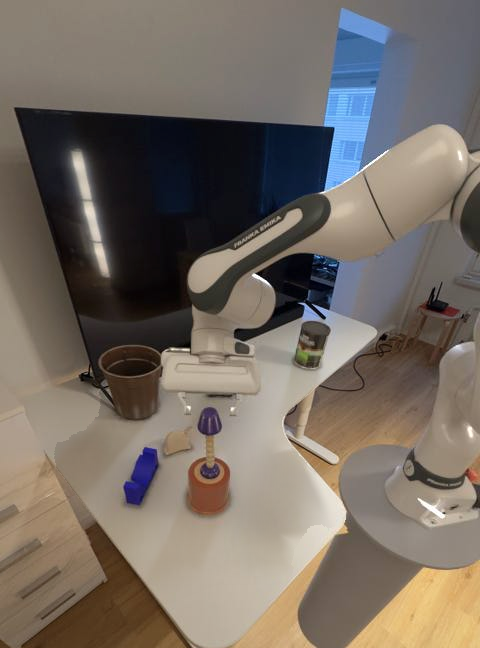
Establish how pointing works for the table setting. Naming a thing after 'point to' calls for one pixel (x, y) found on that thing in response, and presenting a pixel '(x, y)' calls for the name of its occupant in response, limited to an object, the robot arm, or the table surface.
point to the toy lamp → (209, 440)
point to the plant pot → (133, 379)
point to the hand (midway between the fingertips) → (210, 415)
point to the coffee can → (311, 344)
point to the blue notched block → (141, 476)
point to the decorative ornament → (177, 441)
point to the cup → (208, 488)
